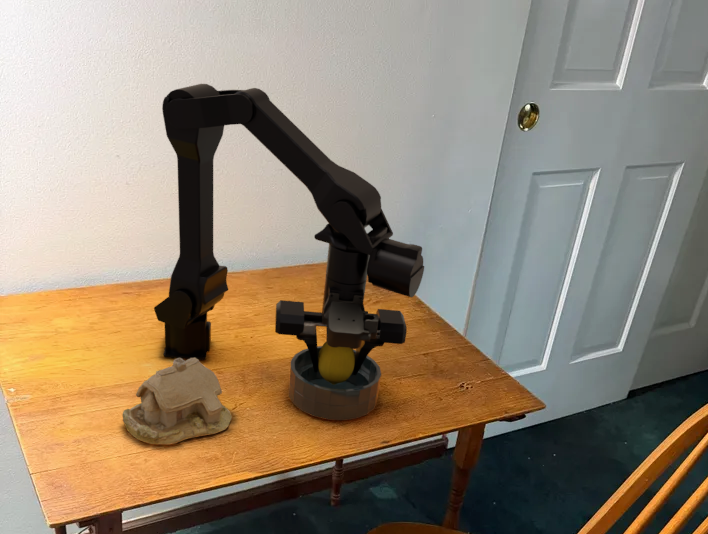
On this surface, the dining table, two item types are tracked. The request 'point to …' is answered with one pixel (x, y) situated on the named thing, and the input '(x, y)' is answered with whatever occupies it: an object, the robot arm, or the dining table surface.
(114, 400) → the dining table surface
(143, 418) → the ceramic model
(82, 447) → the dining table surface
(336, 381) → the lemon
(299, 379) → the grey pet bowl
